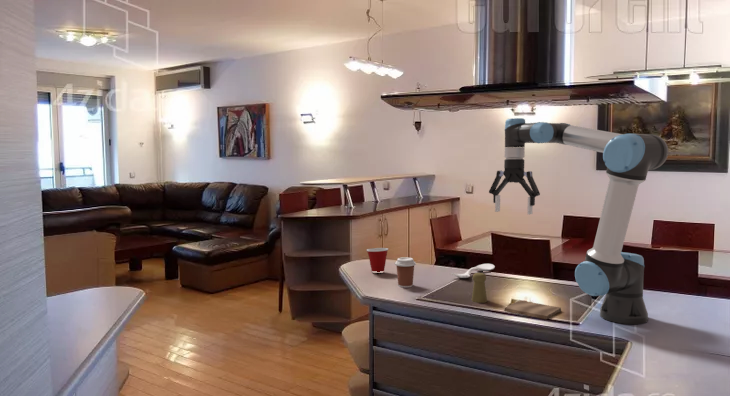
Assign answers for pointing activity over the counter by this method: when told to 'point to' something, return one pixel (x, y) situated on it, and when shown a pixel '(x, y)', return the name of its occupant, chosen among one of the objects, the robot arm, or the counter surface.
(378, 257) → the plastic cup
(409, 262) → the coffee cup
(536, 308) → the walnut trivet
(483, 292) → the cork
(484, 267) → the spoon
